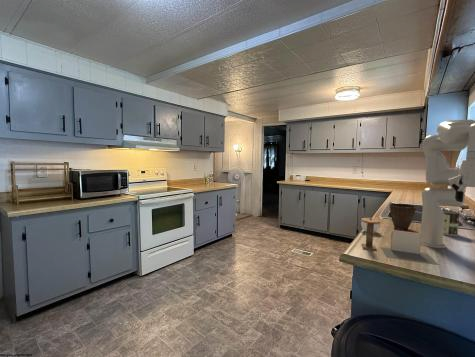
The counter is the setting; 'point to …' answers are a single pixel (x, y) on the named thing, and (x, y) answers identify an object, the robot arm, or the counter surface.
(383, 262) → the counter surface
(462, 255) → the counter surface
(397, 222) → the plant pot
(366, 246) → the wooden pedestal stand
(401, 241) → the tile
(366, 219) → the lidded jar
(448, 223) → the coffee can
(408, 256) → the mat
